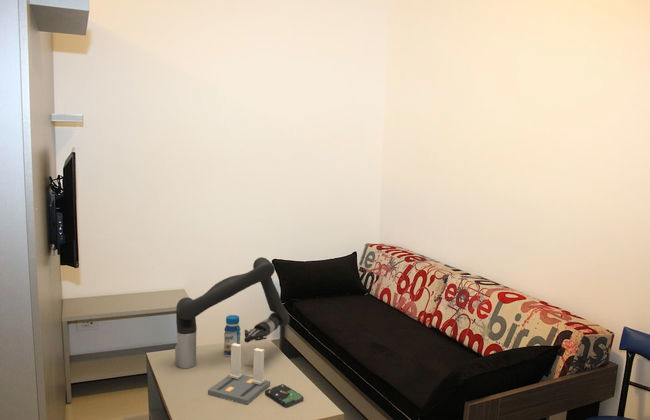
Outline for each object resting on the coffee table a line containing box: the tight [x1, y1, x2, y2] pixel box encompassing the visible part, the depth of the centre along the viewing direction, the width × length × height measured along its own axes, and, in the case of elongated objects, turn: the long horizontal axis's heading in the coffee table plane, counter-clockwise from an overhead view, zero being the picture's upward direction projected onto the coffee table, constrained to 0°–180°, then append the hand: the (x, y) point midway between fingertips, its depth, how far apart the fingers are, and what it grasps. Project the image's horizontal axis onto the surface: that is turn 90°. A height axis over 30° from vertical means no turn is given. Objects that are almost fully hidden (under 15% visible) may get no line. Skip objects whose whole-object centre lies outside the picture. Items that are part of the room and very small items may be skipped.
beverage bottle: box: [223, 314, 241, 357], centre depth 274 cm, size 8×8×20 cm
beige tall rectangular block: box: [252, 347, 265, 385], centre depth 238 cm, size 4×4×15 cm
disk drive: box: [264, 383, 305, 409], centre depth 231 cm, size 10×3×15 cm
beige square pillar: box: [229, 343, 243, 379], centre depth 243 cm, size 4×4×15 cm
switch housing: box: [207, 374, 271, 405], centre depth 236 cm, size 20×20×2 cm
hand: (246, 340), depth 249 cm, fingers closed
